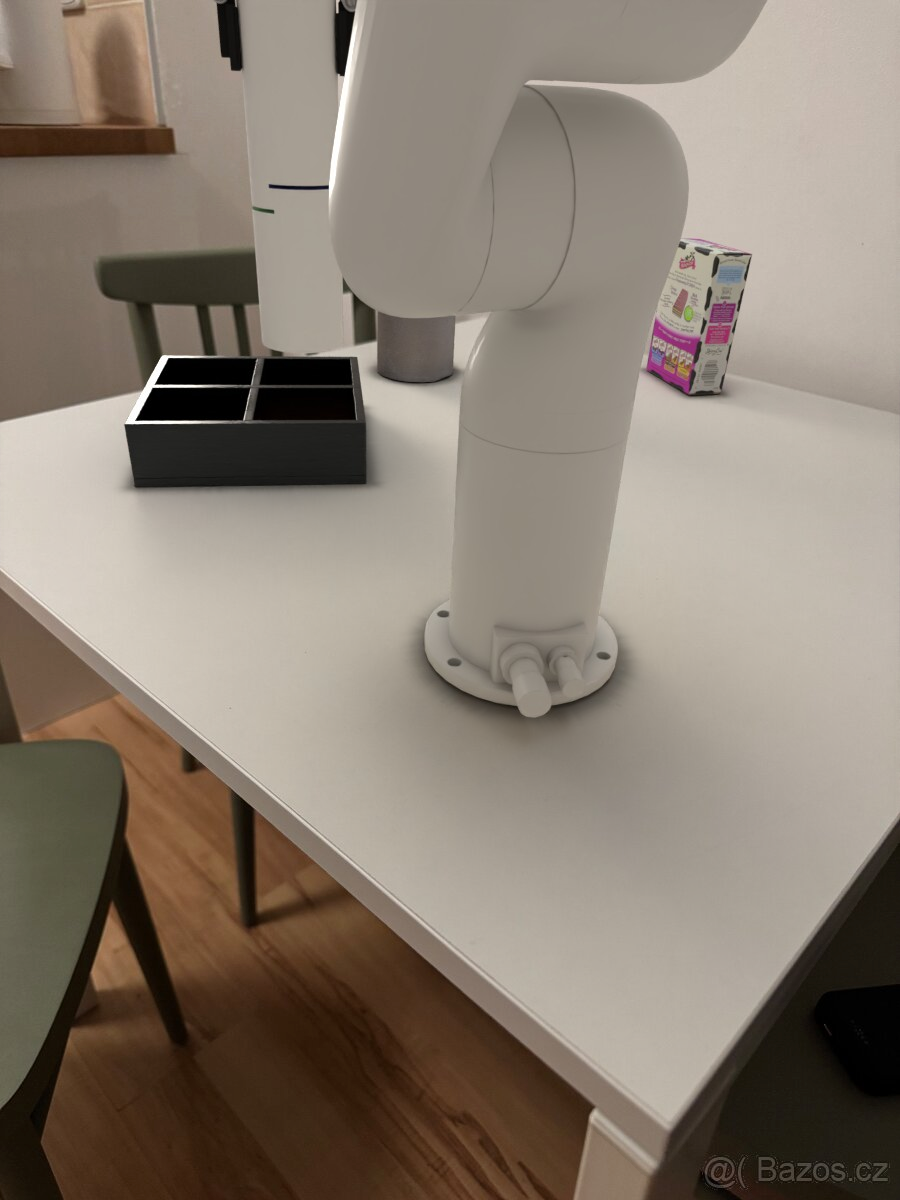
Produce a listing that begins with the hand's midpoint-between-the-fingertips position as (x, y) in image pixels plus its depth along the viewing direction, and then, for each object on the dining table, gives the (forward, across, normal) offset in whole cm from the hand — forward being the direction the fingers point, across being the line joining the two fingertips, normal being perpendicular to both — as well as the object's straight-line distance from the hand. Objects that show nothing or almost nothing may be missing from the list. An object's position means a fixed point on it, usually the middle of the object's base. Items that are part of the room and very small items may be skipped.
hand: (290, 71), depth 63 cm
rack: (+32, -5, +5) cm, 33 cm away
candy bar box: (+32, +47, +25) cm, 62 cm away
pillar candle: (+32, +13, +29) cm, 45 cm away
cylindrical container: (+20, 0, 0) cm, 20 cm away
